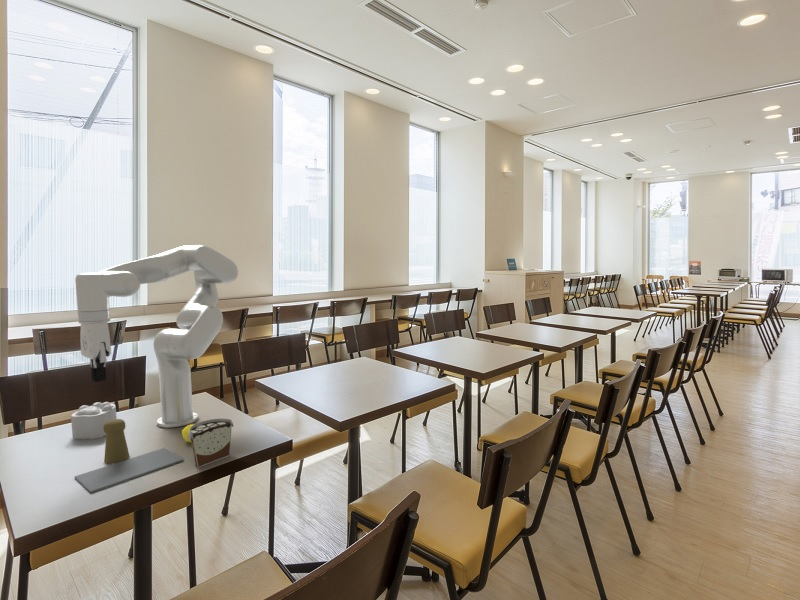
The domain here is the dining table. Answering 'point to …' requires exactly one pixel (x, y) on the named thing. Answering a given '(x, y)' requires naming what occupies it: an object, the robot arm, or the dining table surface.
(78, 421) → the lumpy-topped squat cylinder
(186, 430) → the lemon
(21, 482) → the dining table surface
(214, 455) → the food container
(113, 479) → the mat
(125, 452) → the cork
